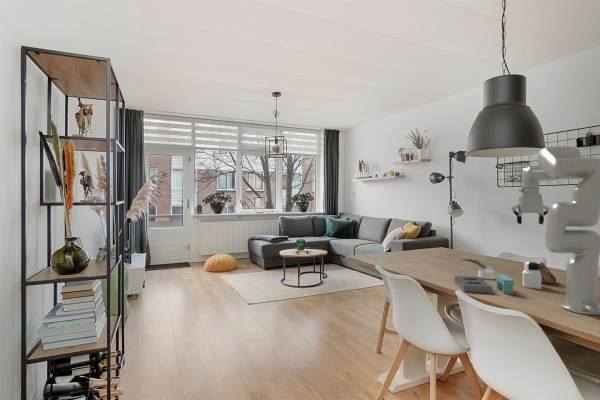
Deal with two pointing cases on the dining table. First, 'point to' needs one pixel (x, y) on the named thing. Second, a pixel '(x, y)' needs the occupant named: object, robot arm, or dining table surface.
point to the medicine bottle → (532, 275)
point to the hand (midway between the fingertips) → (530, 223)
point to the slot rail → (473, 284)
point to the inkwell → (483, 270)
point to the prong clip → (505, 284)
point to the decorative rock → (546, 274)
